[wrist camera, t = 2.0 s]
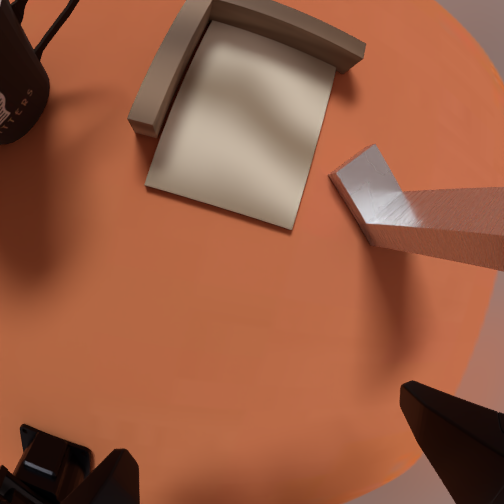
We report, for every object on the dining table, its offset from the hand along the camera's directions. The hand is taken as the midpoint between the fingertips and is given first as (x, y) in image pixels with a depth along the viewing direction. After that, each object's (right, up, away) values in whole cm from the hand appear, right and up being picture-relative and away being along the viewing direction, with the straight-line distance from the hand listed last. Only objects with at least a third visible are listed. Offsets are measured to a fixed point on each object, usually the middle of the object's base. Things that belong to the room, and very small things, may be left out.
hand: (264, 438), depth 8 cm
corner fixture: (-1, +15, +10) cm, 18 cm away
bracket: (+8, +10, +13) cm, 18 cm away
